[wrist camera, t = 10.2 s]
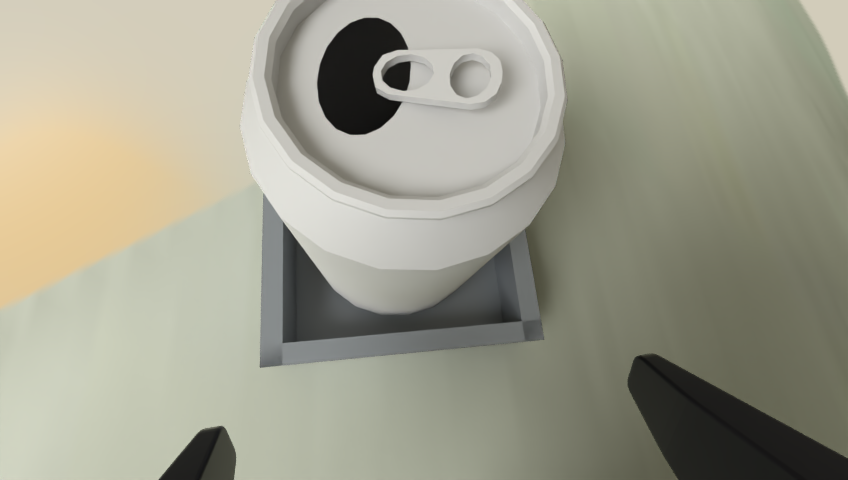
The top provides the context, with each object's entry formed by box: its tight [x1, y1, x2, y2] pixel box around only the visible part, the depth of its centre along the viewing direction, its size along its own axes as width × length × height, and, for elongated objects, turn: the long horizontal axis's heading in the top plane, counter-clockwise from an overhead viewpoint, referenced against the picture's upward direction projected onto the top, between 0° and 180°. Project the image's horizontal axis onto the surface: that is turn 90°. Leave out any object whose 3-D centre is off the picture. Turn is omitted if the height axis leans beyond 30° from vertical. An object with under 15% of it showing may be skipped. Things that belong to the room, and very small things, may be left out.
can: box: [240, 0, 568, 315], centre depth 13 cm, size 8×8×12 cm
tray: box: [260, 193, 544, 368], centre depth 18 cm, size 11×11×3 cm
